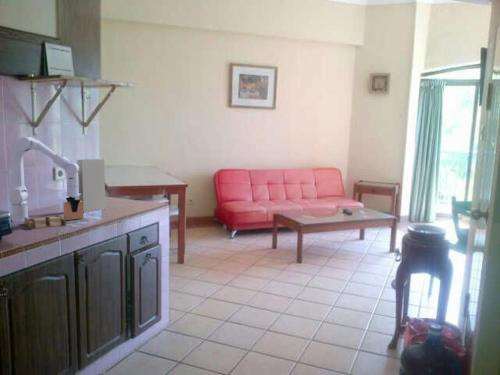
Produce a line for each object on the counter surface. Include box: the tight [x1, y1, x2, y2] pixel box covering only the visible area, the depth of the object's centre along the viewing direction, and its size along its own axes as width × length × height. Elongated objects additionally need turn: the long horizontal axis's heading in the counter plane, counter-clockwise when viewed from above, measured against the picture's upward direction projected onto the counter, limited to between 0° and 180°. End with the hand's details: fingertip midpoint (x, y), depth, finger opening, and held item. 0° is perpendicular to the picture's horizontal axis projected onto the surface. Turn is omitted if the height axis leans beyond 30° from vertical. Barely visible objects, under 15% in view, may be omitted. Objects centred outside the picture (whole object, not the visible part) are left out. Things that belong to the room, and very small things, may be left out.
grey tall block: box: [76, 158, 106, 213], centre depth 265 cm, size 14×6×30 cm, turn 141°
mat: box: [66, 216, 90, 225], centre depth 240 cm, size 14×12×1 cm
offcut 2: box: [48, 216, 62, 227], centre depth 226 cm, size 3×5×4 cm, turn 128°
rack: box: [24, 213, 67, 230], centre depth 228 cm, size 15×16×4 cm
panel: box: [62, 201, 84, 220], centre depth 239 cm, size 3×9×9 cm, turn 127°
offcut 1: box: [32, 217, 46, 229], centre depth 222 cm, size 3×5×4 cm, turn 127°
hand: (73, 211), depth 239 cm, fingers closed on panel, 3 cm apart
